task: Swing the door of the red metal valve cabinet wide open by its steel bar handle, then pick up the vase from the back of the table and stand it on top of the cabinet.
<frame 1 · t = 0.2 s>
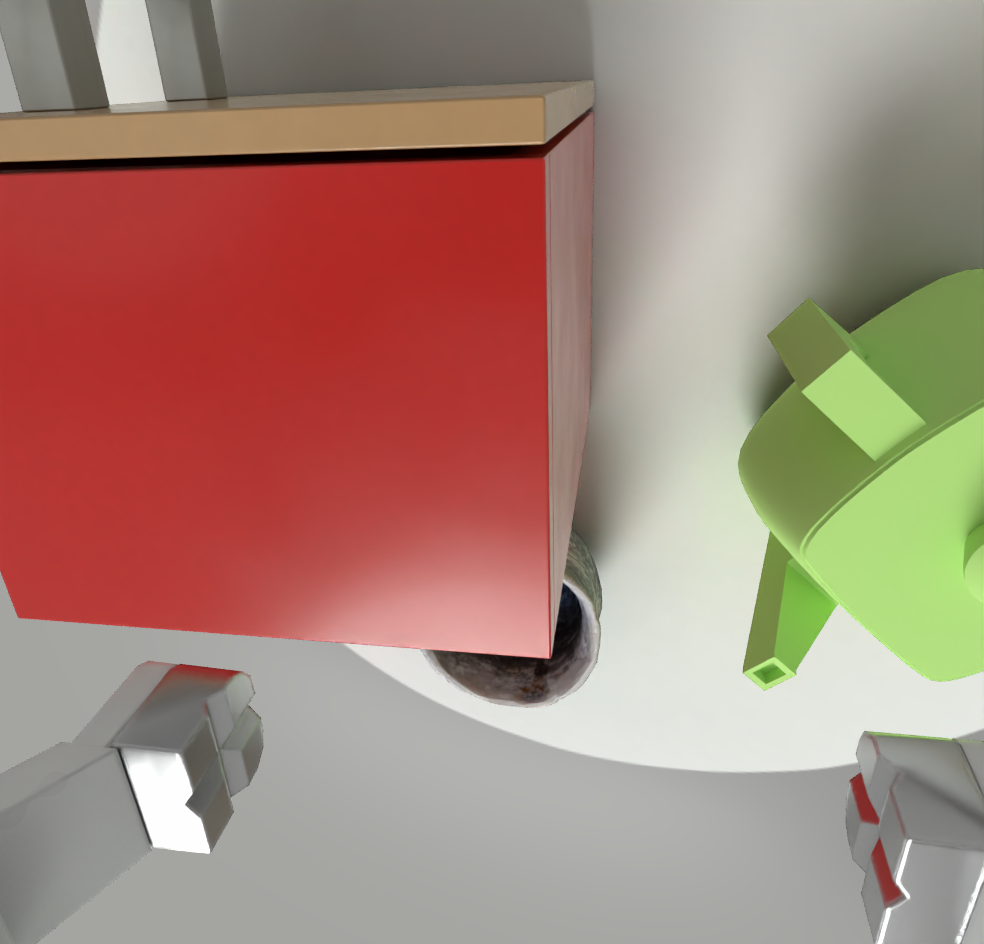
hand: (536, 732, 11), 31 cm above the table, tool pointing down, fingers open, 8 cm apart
cabinet: (410, 272, 40), on the table
door: (304, 22, 26), point 10 cm above the table, hinge at 0.0°
mug: (502, 547, 46), on the table
teapot: (870, 449, 40), on the table
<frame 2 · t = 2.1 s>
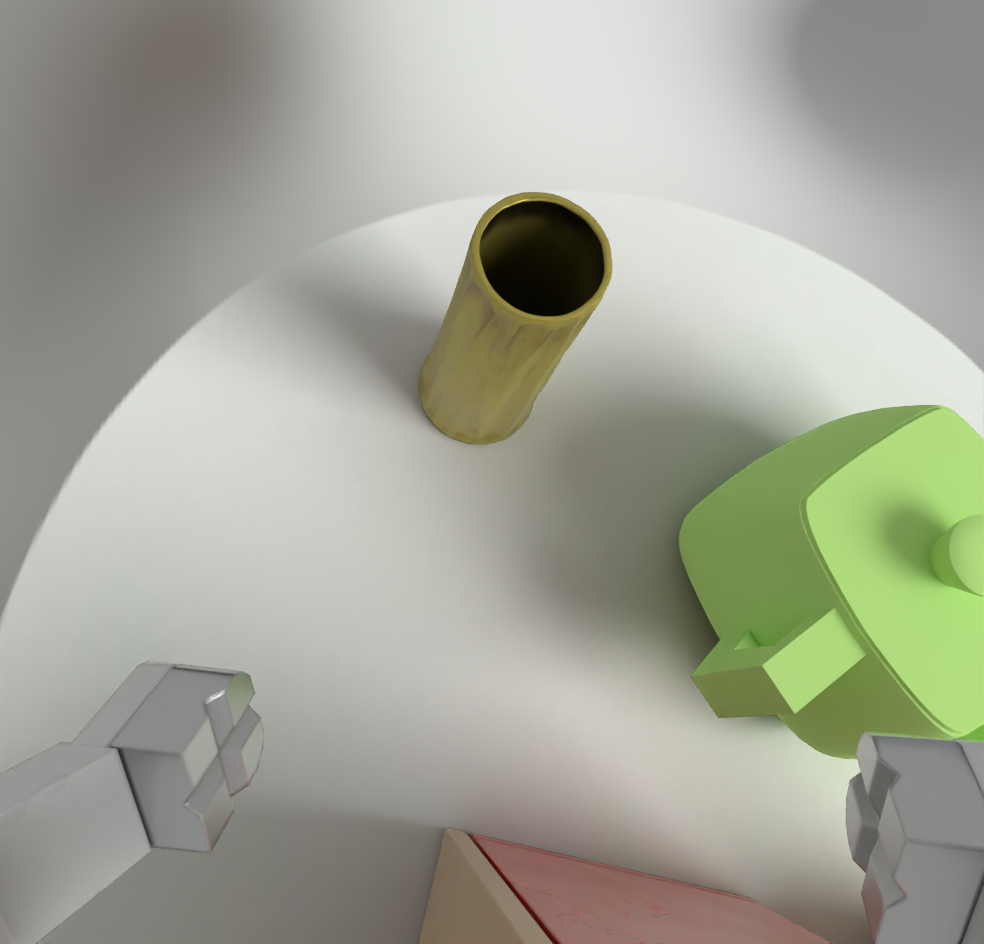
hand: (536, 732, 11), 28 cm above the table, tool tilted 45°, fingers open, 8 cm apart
teapot: (820, 621, 43), on the table
vase: (475, 391, 42), on the table
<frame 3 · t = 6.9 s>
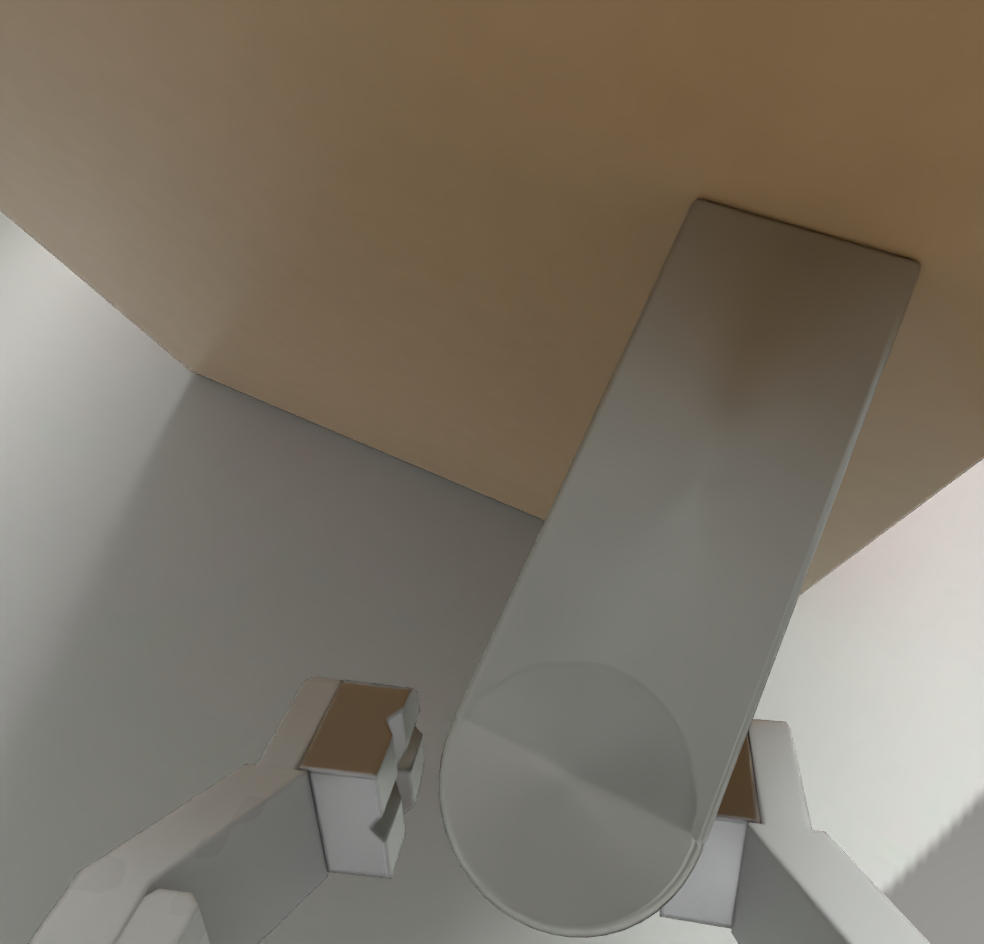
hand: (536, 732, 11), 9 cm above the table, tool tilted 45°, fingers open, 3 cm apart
door: (257, 416, 12), point 10 cm above the table, hinge at 0.4°, touching gripper
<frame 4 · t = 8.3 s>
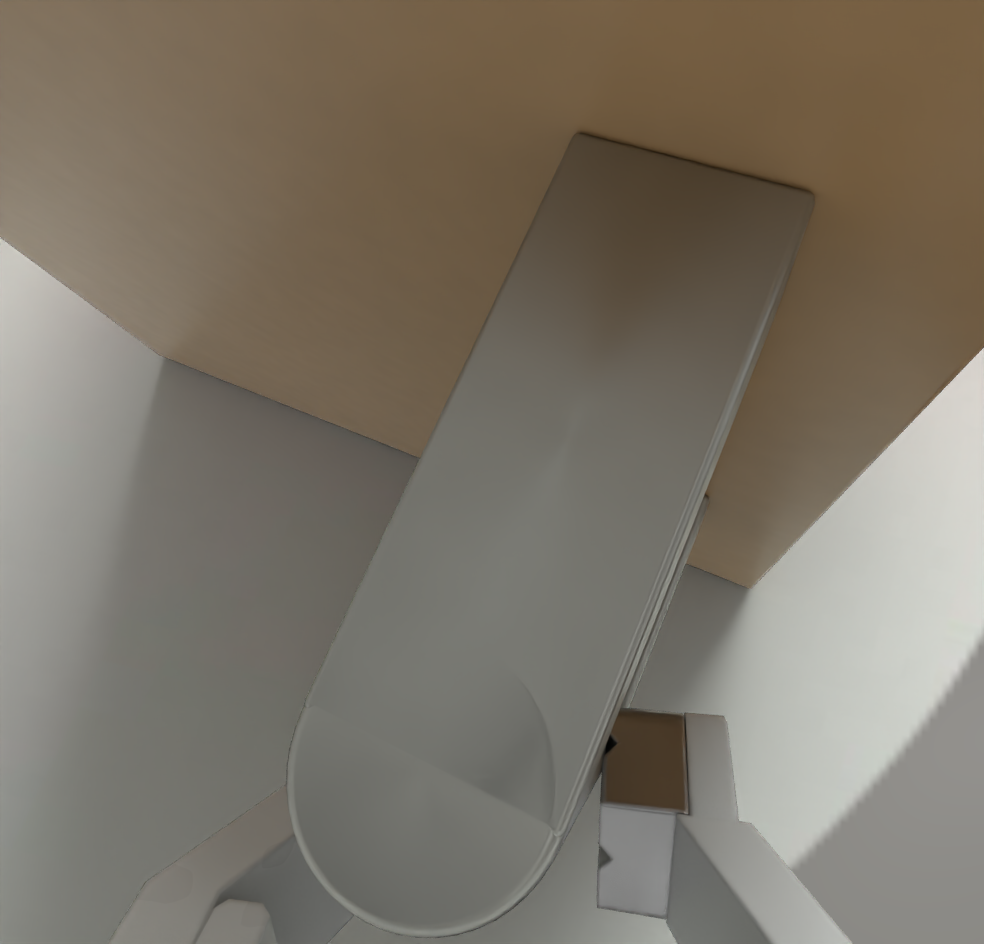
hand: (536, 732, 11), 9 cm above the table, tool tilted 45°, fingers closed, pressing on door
door: (186, 394, 12), point 10 cm above the table, hinge at 12.6°, touching gripper
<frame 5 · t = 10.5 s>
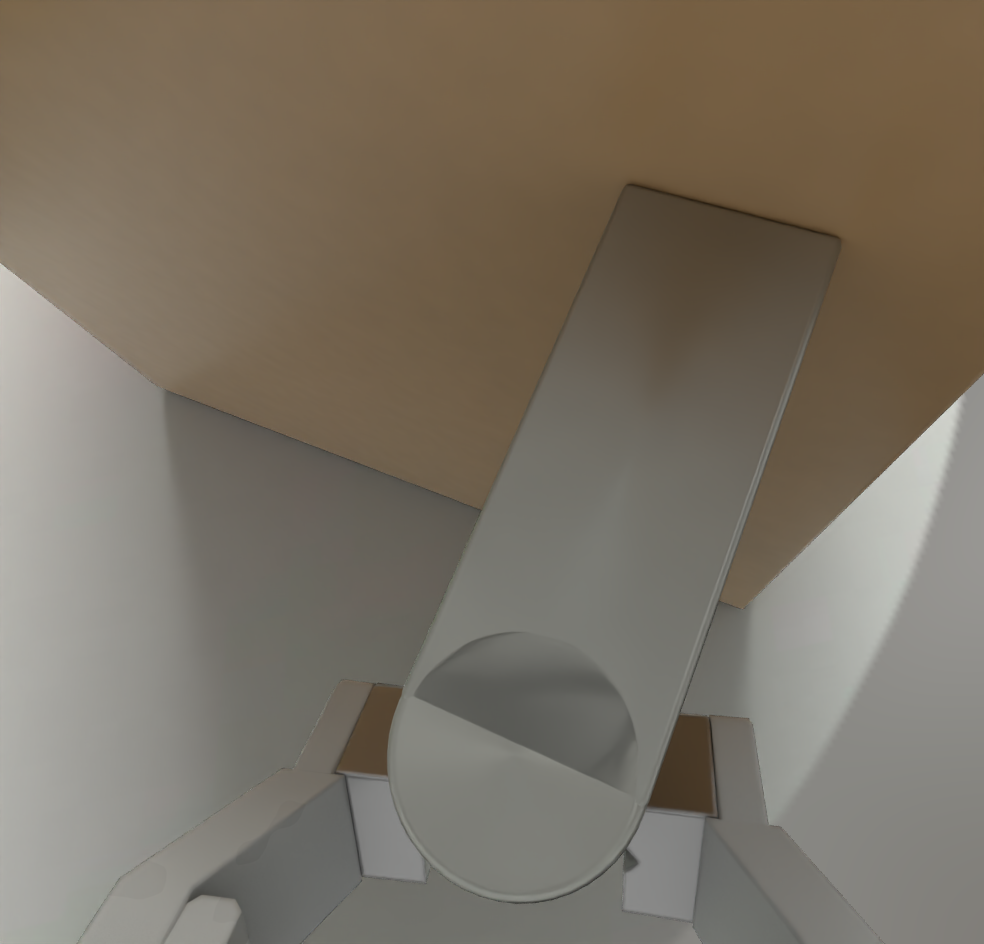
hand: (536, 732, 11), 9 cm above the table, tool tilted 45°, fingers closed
door: (217, 422, 12), point 10 cm above the table, hinge at 34.3°, touching gripper
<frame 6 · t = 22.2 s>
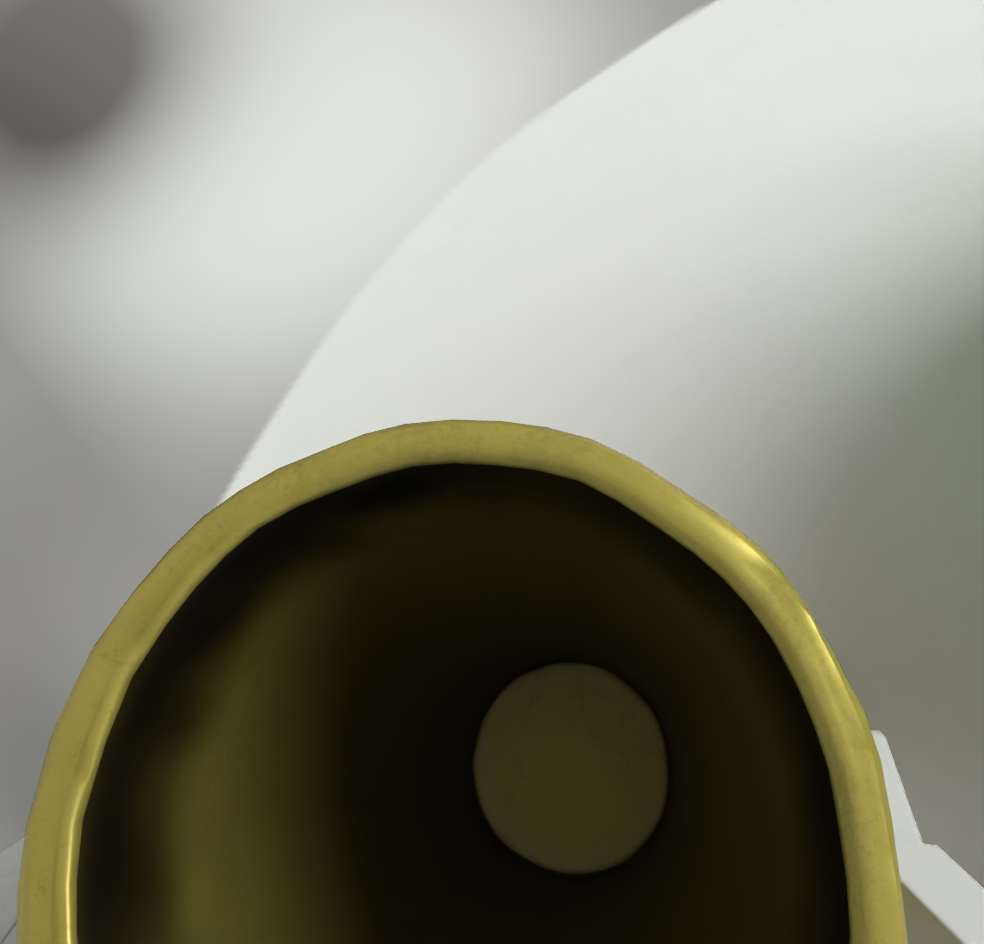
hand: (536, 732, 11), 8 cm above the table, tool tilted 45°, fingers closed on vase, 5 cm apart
vase: (571, 763, 18), on the table, touching gripper
when the fingers open (28 cm above the table, at t = 32.6 s): vase stays where it is, resting on cabinet.
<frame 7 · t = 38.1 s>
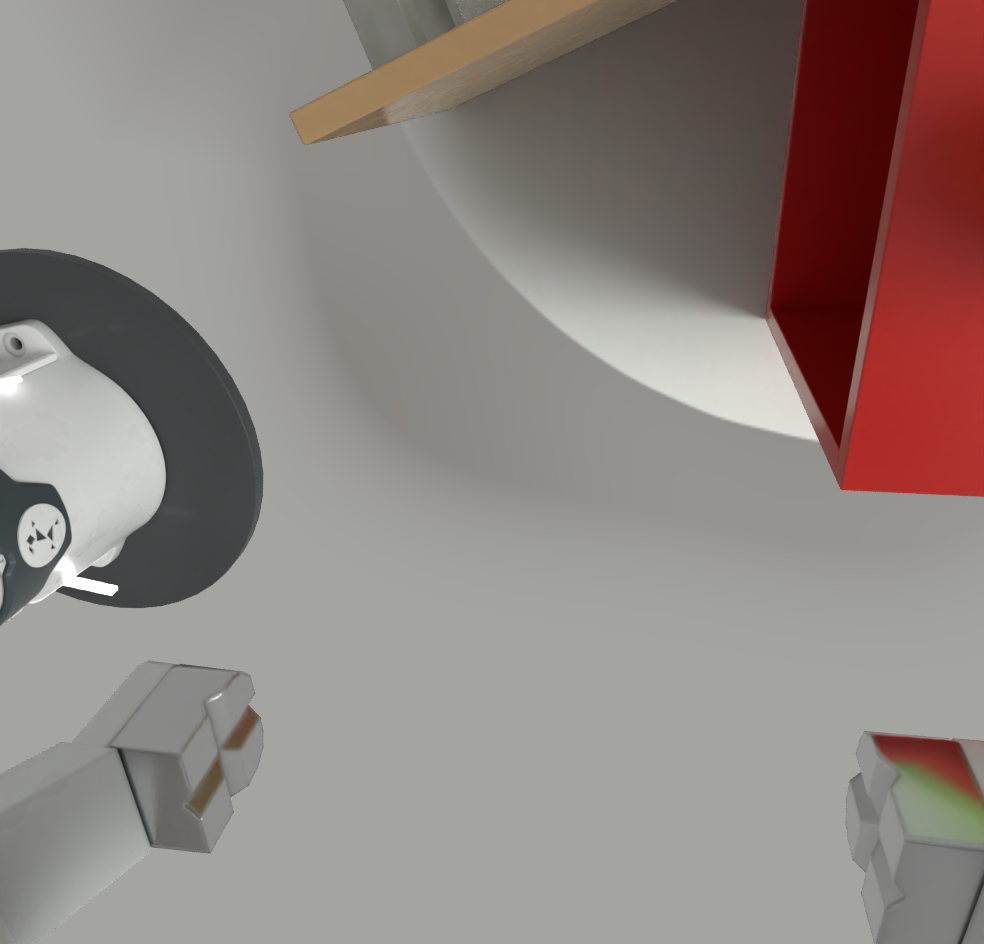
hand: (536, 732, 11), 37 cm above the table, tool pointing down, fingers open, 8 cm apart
cabinet: (936, 141, 39), on the table
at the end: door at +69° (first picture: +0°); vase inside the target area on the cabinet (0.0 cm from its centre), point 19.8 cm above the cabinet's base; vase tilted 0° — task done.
